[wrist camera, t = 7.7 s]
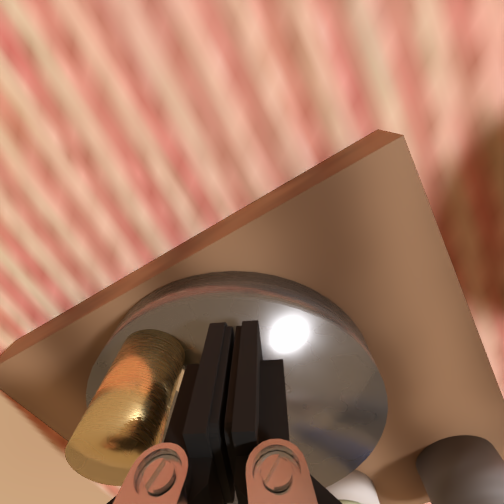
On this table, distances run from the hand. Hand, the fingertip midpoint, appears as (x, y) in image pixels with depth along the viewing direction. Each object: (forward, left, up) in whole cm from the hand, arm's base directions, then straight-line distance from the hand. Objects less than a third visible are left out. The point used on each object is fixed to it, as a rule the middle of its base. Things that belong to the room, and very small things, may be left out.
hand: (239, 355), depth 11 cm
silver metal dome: (+3, +4, -3) cm, 6 cm away
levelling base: (+3, +8, -6) cm, 10 cm away
